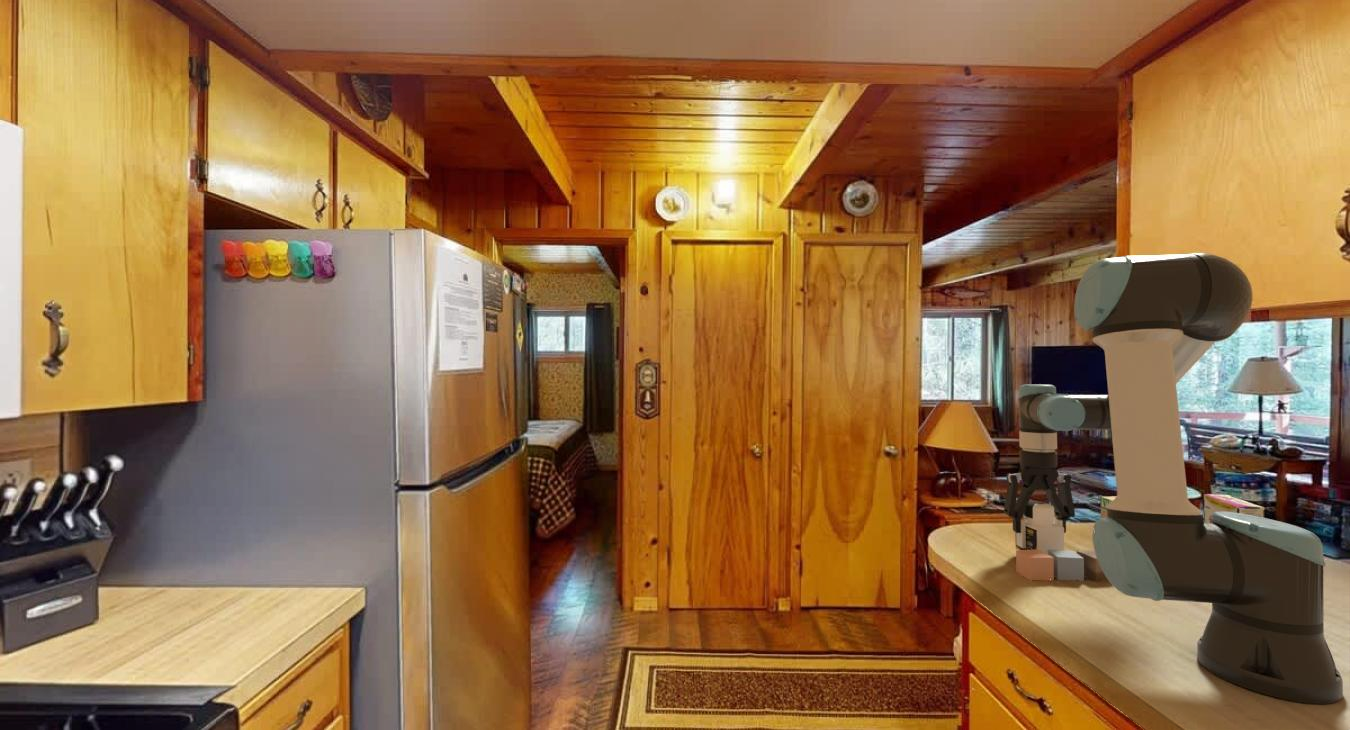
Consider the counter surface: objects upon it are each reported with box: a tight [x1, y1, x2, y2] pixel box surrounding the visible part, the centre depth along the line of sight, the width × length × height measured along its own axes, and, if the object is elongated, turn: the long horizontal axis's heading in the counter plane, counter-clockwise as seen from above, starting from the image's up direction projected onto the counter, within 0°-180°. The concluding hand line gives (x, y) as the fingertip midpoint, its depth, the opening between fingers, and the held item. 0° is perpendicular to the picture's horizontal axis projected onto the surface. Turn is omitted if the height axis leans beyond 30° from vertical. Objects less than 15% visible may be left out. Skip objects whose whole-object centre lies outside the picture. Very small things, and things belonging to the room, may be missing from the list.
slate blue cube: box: [1048, 549, 1085, 582], centre depth 125 cm, size 5×5×5 cm
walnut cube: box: [1076, 549, 1108, 582], centre depth 125 cm, size 5×5×5 cm
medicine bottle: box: [1014, 500, 1065, 554], centre depth 136 cm, size 7×7×12 cm
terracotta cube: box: [1015, 549, 1055, 581], centre depth 126 cm, size 5×5×5 cm
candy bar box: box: [1203, 493, 1266, 523], centre depth 124 cm, size 11×5×16 cm, turn 167°
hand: (1039, 546), depth 136 cm, fingers closed on medicine bottle, 8 cm apart
